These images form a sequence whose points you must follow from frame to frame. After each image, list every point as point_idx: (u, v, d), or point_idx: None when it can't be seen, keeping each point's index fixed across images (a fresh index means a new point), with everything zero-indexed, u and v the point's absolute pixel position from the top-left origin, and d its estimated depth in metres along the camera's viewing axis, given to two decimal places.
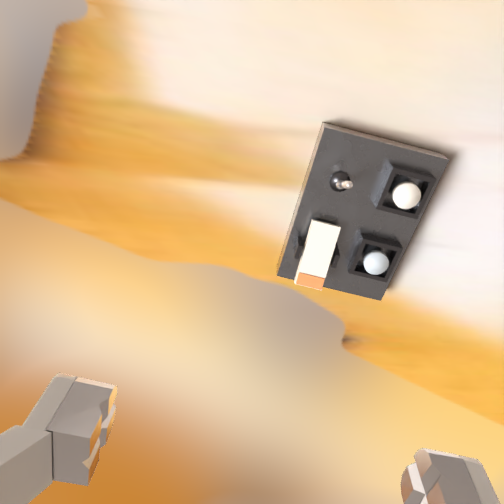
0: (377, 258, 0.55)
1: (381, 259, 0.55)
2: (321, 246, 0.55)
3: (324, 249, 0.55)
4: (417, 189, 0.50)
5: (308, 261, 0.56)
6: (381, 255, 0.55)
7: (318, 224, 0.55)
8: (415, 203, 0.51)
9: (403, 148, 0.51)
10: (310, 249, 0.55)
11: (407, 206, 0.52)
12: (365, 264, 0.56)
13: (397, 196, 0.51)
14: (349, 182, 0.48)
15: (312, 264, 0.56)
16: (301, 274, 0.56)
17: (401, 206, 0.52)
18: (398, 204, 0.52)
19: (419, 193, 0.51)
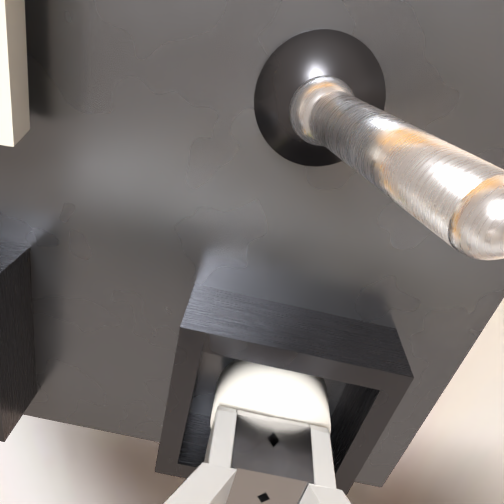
0: None
1: None
2: None
3: None
4: None
5: None
6: None
7: None
8: None
9: None
10: None
11: None
12: None
13: (271, 396, 0.10)
14: None
15: None
16: None
17: None
18: (230, 402, 0.11)
19: None
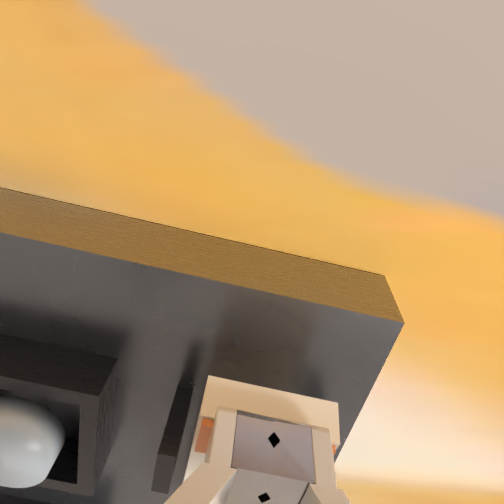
0: (9, 476, 0.14)
1: None
2: None
3: None
4: None
5: None
6: (1, 483, 0.15)
7: None
8: None
9: None
10: None
11: None
12: (43, 459, 0.14)
13: None
14: None
15: None
16: None
17: None
18: None
19: None
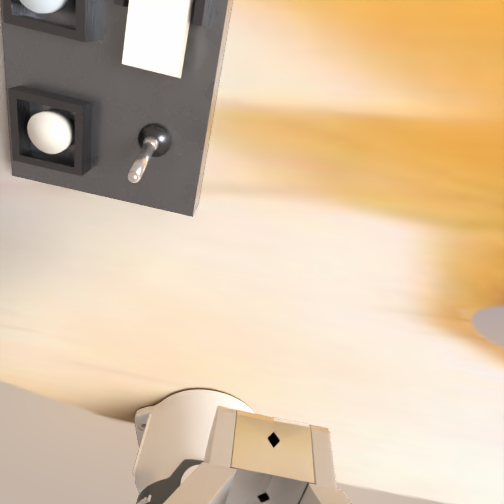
0: (40, 1, 0.27)
1: None
2: (153, 18, 0.27)
3: (147, 12, 0.27)
4: (38, 146, 0.33)
5: None
6: (35, 9, 0.27)
7: (165, 68, 0.28)
8: (30, 123, 0.32)
9: (79, 189, 0.36)
10: (175, 11, 0.27)
11: (39, 116, 0.32)
12: None
13: (62, 134, 0.32)
14: (134, 182, 0.30)
15: None
16: None
17: (50, 117, 0.32)
18: (55, 120, 0.32)
19: (32, 140, 0.33)
